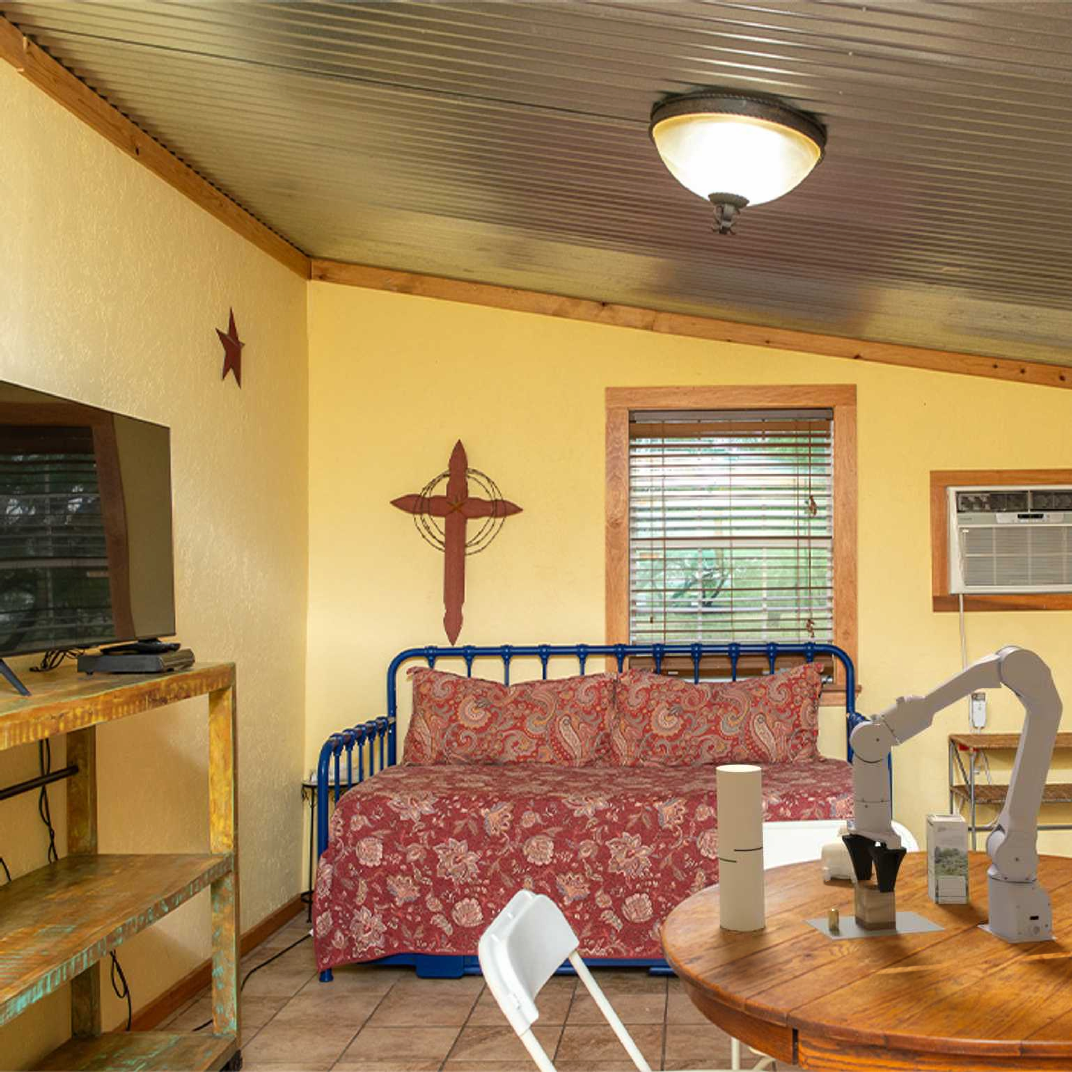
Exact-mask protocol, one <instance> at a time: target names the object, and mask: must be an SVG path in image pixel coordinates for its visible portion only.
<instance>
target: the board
mask: <svg viewBox="0 0 1072 1072" xmlns="http://www.w3.org/2000/svg"><path fill="white" fill-rule="evenodd" d="M802 921H804V923H806V924H808V925H809V926H811V927H813V928H814V929H815V930H818V932H820V933H822V935H825V936H826V937H828V938H829V939H831V940H832V941H839V940H849V939H861V938H862V939H863V938H871V937H872V938H873V937H884V936H898V935H908V934H919V933H920V934H921V933H929V932H942V931H944V932H945V931H948V929H946V928H944V927H942V926H941V925H939V924H937V923H935V922H934V921H932V920H929V919H927V918H926V917H924V916H922V915H920V914H918V913H916V912H914V911H912V910H909V911H896V929H886V930H874V931H868V930H866V929H865V928H863V927H861V926H860V925H858V924H856V923H855V915H846V916H839V930H837V931H832V930H829V924H828V917H822V918H811V919H810V918H809V919H802Z"/></svg>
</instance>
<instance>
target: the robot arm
mask: <svg viewBox="0 0 1072 1072" xmlns="http://www.w3.org/2000/svg"><path fill="white" fill-rule="evenodd" d="M1002 685H1004V686H1005V687H1006V688H1008V689H1009V690H1011V692H1013V694H1014V695H1015V697H1016V698H1017V699H1018V701H1019V702H1020V704H1021V705H1022V706H1023V707H1024V709H1025V711H1026V712H1025V716H1024V720H1023V721H1024V722H1023V725H1022V729H1021V733H1020V738H1019V742H1018V747H1017V750H1016V754H1015V758H1014V763H1013V768H1012V771H1011V776H1010V780H1009V785H1008V788H1007V793H1006V798H1005V801H1004V805H1003V806H1004V807H1003V808H1002V810H1001V812H1000V814H999V815H998V817H997V821H996V825H995V827H994V828H993V829H992V830H991V831H990V833H989V834H988V835H987V837H986V840H985V845H984V846H985V852H986V854H987V856H988V858H989V859H990V861H992V863H991V864H990V867H989V868H988V869H987V872H986V873H987V874H986V875H987V902H988V904H987V906H988V924H978V925H977V928H980V929H982V930H983V931H986V932H988V933H990V934H992V935H993V936H994V937H995V936H996V937H998V938H1000V939H1002V940H1003V941H1005V942H1008V943H1010V944H1019V943H1028V942H1029V943H1031V942H1042V941H1052V940H1054V941H1055V940H1058V937H1056V936H1053V916H1052V915H1053V911H1052V910H1053V907H1052V900H1051V896H1050V895H1049V893H1048V892H1047V890H1046V889H1045V888H1043V887H1042V886H1041V885H1040V883H1039V880H1038V872H1037V869H1038V867H1039V863H1040V862H1039V861H1040V860H1039V859H1040V858H1039V854H1038V849H1037V843H1038V836H1039V833H1038V817H1039V812H1040V807H1041V803H1042V799H1043V796H1044V791H1045V787H1046V782H1047V777H1048V776H1049V770H1050V766H1051V762H1052V758H1053V753H1054V748H1055V744H1056V740H1057V737H1058V736H1057V735H1058V732H1059V727H1060V723H1061V719H1062V714H1063V709H1064V708H1063V702H1062V699H1061V697H1060V695H1059V692H1058V690H1057V687H1056V684H1055V682H1054V678H1053V676H1052V670H1051V668H1050V667H1049V666H1048V665H1047V663H1046V662H1045V661H1044V660H1043V659H1042V657H1040V656H1039V655H1038V654H1037V653H1036V652H1034V651H1032V650H1030V649H1026V648H1022V647H1021V646H1017V645H1006V646H1003V647H1000V648H999V649H998V650H997V651H996V652H995V653H988V654H986V655H984V656H982V657H981V658H979V659H977V660H976V661H974V662H971V663H970V664H969V665H966V666H965V668H963V669H962V670H960V671H959V672H957V673H955V674H954V675H953V676H951V677H949V678H947V679H946V680H945V681H944V682H942V683H941V684H939V685H937V686H936V687H935V688H933V689H932V690H930V691H928V692H927V693H925V694H924V695H923V696H922V695H921V696H920V695H916V694H908V695H907V696H904V695H902V694H901V695H899V696H897V697H895V699H894V701H895V703H893V704H892V705H890V706H889V707H887V708H886V709H884V710H883V711H880V712H879V713H877V714H876V712H873V713H871V714H870V715H869V718H870V719H871V720H870V721H863V722H862V721H861V722H860V723H858V724H856V725H855V726H854V728H853V729H852V730H851V732H850V735H849V736H850V737H849V738H848V742H849V745H850V747H851V749H852V750H853V752H854V753H853V755H852V759H851V760H852V762H851V764H852V766H853V768H852V769H851V774H852V775H851V778H852V779H851V780H852V800H853V803H852V804H853V818H847V819H846V823H847V831H848V833H849V834H850V835H843V836H842V840H843V842H844V844H845V845H846V847H847V849H848V852H849V854H850V857H851V860H852V864H853V868H854V871H855V875H856V878H857V880H858V882H864V881H871V879H872V875H873V874H872V866H874V871H875V875H876V883H877V884H878V888H879V891H880V892H881V893H888V892H894V890H895V887H896V883H897V878H898V873H899V871H900V867H901V865H902V862H903V860H904V858H905V856H906V855H907V854H908V851H907V850H908V848H906V847H905V846H902V836H901V835H900V834H898V833H897V832H896V830H895V828H894V827H893V826H892V825H893V824H892V806H891V805H892V800H891V779H890V778H891V775H890V774H891V773H890V772H891V771H890V770H889V763H888V760H889V759H888V755H889V754H890V752H891V750H892V747H899V746H900V745H902V744H903V743H906V742H907V741H909V740H910V739H911V738H914V737H915V736H916V735H919V733H921V732H923V731H925V730H926V729H929V728H930V727H931V726H932V724H933V719H934V716H935V714H936V713H938V712H940V711H942V710H944V709H945V708H947V707H949V706H951V705H953V704H955V703H956V702H957V701H960V700H961V699H963V698H965V697H967V696H968V695H971V694H972V693H974V692H976V691H977V690H980V689H1003V687H1002ZM877 843H879V845H877Z"/></svg>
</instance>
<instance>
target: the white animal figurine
mask: <svg viewBox="0 0 1072 1072" xmlns="http://www.w3.org/2000/svg"><path fill="white" fill-rule="evenodd" d="M837 833H838V834H837V836H836V837H834V838H833V839H831V840H828V841H827V842H826V843H824V844H823V846H822V848H821V851H820V852H821V853H820V854H821V855H820V863H821V871H822V872H823V873H824V874H823V878H824V881H825V880H830V881H831V878H837V879H840V880H842V879H843V880H850V879H851V883H852V884H853V883H856V884H855V885H857V884H858V882H859V881H858V880H857V878H856V875H855V871H854V868H853V864H852V860H851V857H850V854H849V852H848V849H847V847H846V845H845V844H844V842H843V840H842V836H843V835H850V834H849V833H848V831H847V822H845V823H841V824H840V827H839V829H838V831H837ZM874 871H875V867H874V865H872V875H873V874H874V873H875V872H874Z"/></svg>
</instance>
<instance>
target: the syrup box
mask: <svg viewBox="0 0 1072 1072" xmlns="http://www.w3.org/2000/svg"><path fill="white" fill-rule="evenodd" d="M968 825H969V823H968V821H967V820H966V819H965V818H964V816H962V815H961V814H952V813H951V814H947V813H946V814H926V815H925V828H926V829H925V830H926V831H925V833H926V834H925V835H926V871H927V873H926V879H927V881H926V882H927V896H928V897H929V898H930V899H931V900H932V902H933V903H934V904H942V905H943V904H956V905H957V904H960V905H961V904H963V905H965V904H966V905H968V904H970V880H969V878H970V876H969V875H970V874H969V827H968Z"/></svg>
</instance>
